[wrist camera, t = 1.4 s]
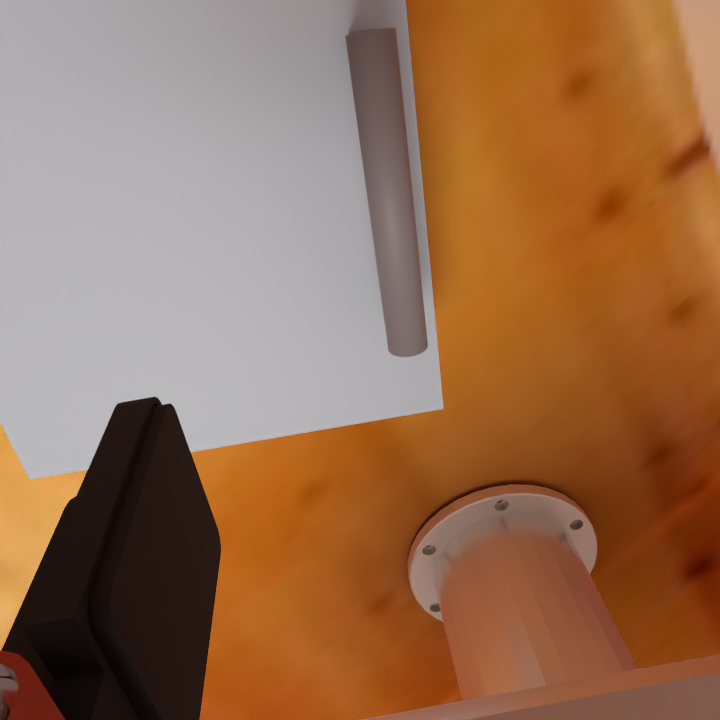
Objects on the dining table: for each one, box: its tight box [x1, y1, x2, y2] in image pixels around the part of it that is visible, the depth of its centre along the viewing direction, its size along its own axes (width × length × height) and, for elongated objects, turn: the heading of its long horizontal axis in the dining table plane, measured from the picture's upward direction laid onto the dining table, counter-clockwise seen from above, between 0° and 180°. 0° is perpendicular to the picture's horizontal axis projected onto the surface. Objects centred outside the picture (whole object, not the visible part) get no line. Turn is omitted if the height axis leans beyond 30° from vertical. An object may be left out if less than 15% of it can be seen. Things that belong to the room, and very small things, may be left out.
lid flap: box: [0, 0, 444, 479], centre depth 21 cm, size 20×18×4 cm
